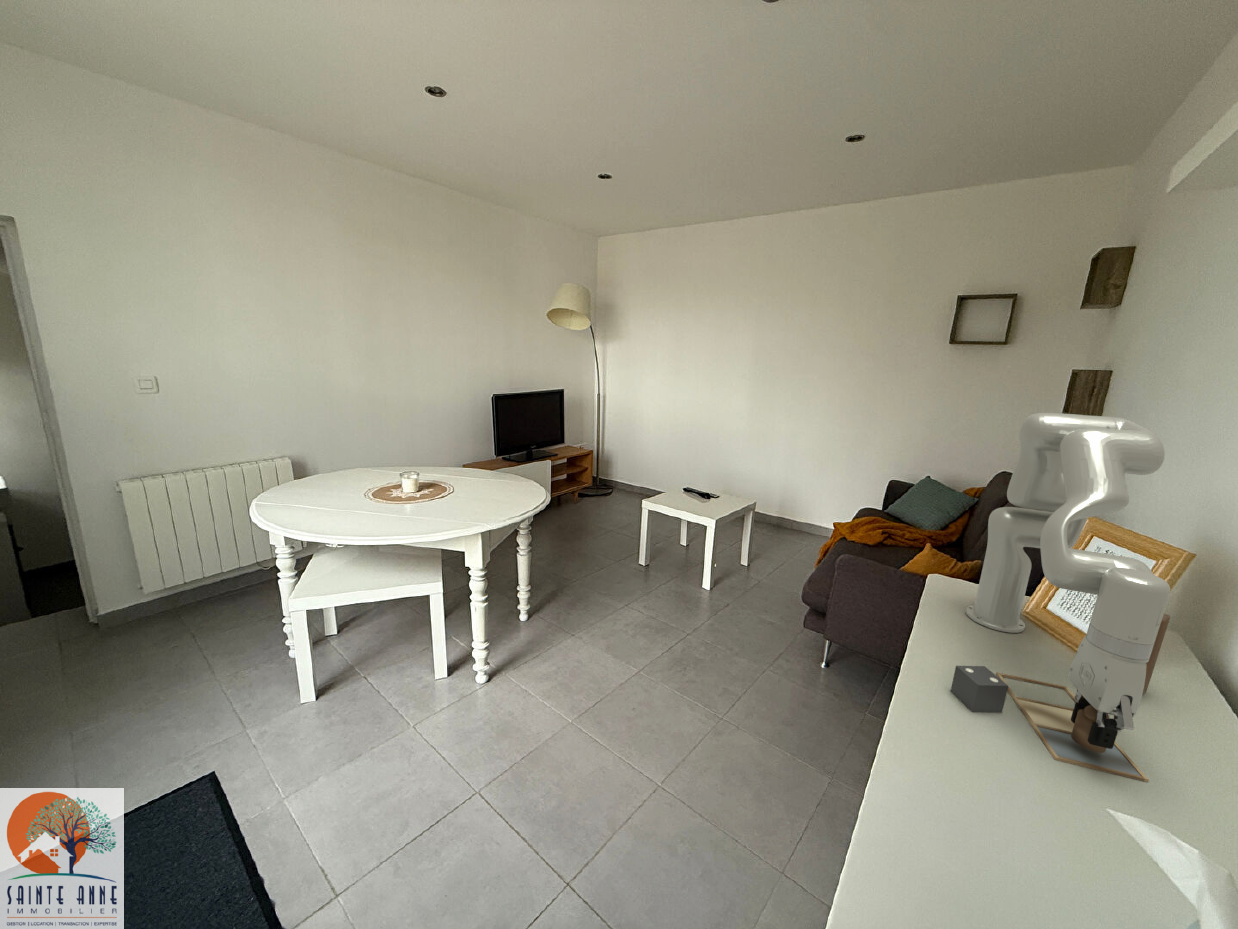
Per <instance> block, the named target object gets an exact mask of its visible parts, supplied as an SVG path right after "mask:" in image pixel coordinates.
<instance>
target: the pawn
mask: <svg viewBox="0 0 1238 929" xmlns="http://www.w3.org/2000/svg"><path fill="white" fill-rule="evenodd" d="M1097 713H1098V711H1097V710H1096V709H1095V708H1094V707H1093V706H1092V705H1089V706H1086V707H1085V708H1084V709H1080V710H1078V713H1077V717H1076V720H1075V724H1074V727H1073V730H1072V734H1071V737H1072V739H1073V740H1074V741H1075V742H1076V743H1077V744H1079V745H1080V746H1082V747H1084V748H1086V749H1088V750H1090V751H1093V752H1098V753H1103V752H1105V751H1106V748H1104V747H1100V746H1095V745H1091V744H1090V743H1089V742H1088V741H1087V740H1088V737H1089V733H1090V730H1091V726H1092V723H1093V722H1096V723H1097ZM1106 719H1110V714H1106Z"/></svg>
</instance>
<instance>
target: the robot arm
mask: <svg viewBox="0 0 1238 929" xmlns="http://www.w3.org/2000/svg"><path fill="white" fill-rule="evenodd" d="M1018 436H1019V446H1020V449H1019V454H1018V459H1017V461H1016V464H1015V467H1014V469H1013V471H1012V474H1011V477H1010V478H1011V479H1010V480H1009V483H1008V486H1007V492H1006V497H1007V501H1008V502H1009V503H1010V504H1012V505H1013V506H1003V507H997V508H995V509H994V510H992V511H991V513H990V514H989V516H988V524H987V543H986V544H987V546H986V551H985V556H984V561H983V564H982V569H981V574H980V578H979V583H978V587H977V593H976V596H975V601H974V604H972V605H971V604H970V605H968V606H967V607H966V608H965V614H966V615H967V617H968V618H970V619H971V620H972V621H973V622H976V623H977V624H980V625H981V626H984V627H986V628H989V629H992V630H995V631H999V632H1003V633H1010V634H1013V633H1014V634H1015V633H1016V634H1019V633H1022V632H1024V631H1025V629H1026V624H1025V622H1024V621H1023V620H1022V619H1021V618H1020V616H1021V611H1022V607H1023V603H1024V599H1025V595H1026V591H1027V587H1028V583H1029V580H1030V575H1031V570H1032V561H1031V558H1030V557H1029V556H1028V554H1027V553H1026V552H1025V550H1024V548H1025V547H1026V548H1035V549H1040V557H1041V559H1040V560H1041V567H1042V572H1043V574H1044V577H1045V580H1046V581H1047V582H1049V584H1051V585H1053V586H1055V587H1056V588H1058V589H1061V590H1062V589H1063V590H1068V591H1072V592H1079V593H1083V594H1091V595H1095V596H1096V595H1097V597H1096V600H1095V603H1094V607H1093V610H1092V614H1091V618H1090V622H1089V625H1088V629H1087V631H1086V632H1087V633H1086V634H1085V635H1084V637H1083V638H1082V640H1081V641H1080V643H1079V644H1078V648H1077V650H1076V652H1075V654H1074V657H1073V658H1072V659H1073V660H1072V663H1071V666H1070V669H1069V672H1068V677H1067V678H1068V680H1069V682H1070V683H1071V685H1073V687H1074V688H1075V690H1076V693H1075V694H1074V696H1075V700H1076V701H1077V702H1075V701H1074V706H1073V713H1072V716H1071V721H1072V722H1073V723H1074V724H1075V720H1076V717H1077V713H1078V710H1080V709H1084V708H1085V707H1086V706H1089V705H1092V706H1093V707H1094V708H1095V709H1096V710H1097V711H1098V713H1097V723H1096V722H1093V723H1092V726H1091V730H1090V733H1089V737H1088V740H1087V741H1088V742H1089V743H1090V744H1091V745H1095V746H1100V747H1104V748H1108V749H1112V748H1113V746H1114V743H1115V742H1116V738H1117V736H1118V732H1121V731H1122V730H1129V731H1133V730H1134V729H1135V726H1134V717H1135V716H1136V715H1137V713H1138V710H1139V707H1140V706H1141V702H1142V698H1143V695H1144V693H1143V689H1144V684H1145V677H1146V663H1147V662H1148V661H1149V658H1150V655H1151V652H1152V649H1153V646H1154V642H1155V640H1156V636H1157V633H1158V630H1159V627H1160V624H1161V621H1162V617H1163V614H1165V611H1166V609H1167V608H1166V607H1167V605H1168V601H1169V598H1170V595H1171V586H1170V585H1169V583H1168V582H1167V581H1166V580H1165V579H1164V578H1162V577H1159V576H1157V575H1156V574H1154V572H1153V571H1152V570H1151V568H1150V567H1149V566H1148V565H1147V563H1145V562H1144V561H1142V560H1140V559H1137V558H1133V557H1129V556H1123V555H1115V554H1110V553H1104V552H1103V553H1102V552H1097V551H1091V550H1090V551H1089V550H1083V549H1075V548H1073V547H1074V546H1075V545H1076V543H1077V542H1078V541H1079V540H1078V539H1079V538H1080V536H1081V534H1082V532H1083V530H1084V528H1085V525H1086V523H1087V521H1088V519H1089V518H1092V517H1093V518H1094V517H1098V516H1104V515H1109V514H1113V513H1115V512H1119V511H1121V510H1123V509H1124V508H1126V507H1127V506H1128V505H1129V502H1130V496H1129V491H1128V487H1127V480H1126V475H1125V474H1127V475H1138V476H1142V475H1143V476H1145V475H1151V474H1154V473H1155V472H1157V471H1158V470H1159V469H1160V468H1161V467H1162V465H1163V463H1164V460H1165V456H1166V454H1165V448H1164V445H1163V442H1162V440H1161V439H1160V438H1159V437H1158V436H1157V435H1156V434H1155V433H1154V432H1153V431H1151V430H1149V429H1147V428H1145V427H1143V426H1141V425H1139V424H1138V423H1136V422H1133V421H1132V420H1129V419H1126V418H1123V417H1116V416H1104V415H1103V416H1102V415H1101V416H1100V415H1086V414H1076V413H1073V414H1072V413H1059V412H1057V413H1056V412H1037V413H1032V414H1030V415H1029V416H1027V417H1026V418H1025V419H1024V420H1023V422H1021V425H1020V428H1019V435H1018ZM1014 506H1015V507H1014ZM1106 714H1108V715H1111V716H1113V718H1110V717H1109V719H1106Z"/></svg>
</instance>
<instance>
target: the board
mask: <svg viewBox="0 0 1238 929" xmlns="http://www.w3.org/2000/svg"><path fill="white" fill-rule="evenodd" d="M995 675H996V676H997V677H998V678H1000V679H1001V680H1002V681H1003V682H1004V683H1006V684H1007V685H1008V683H1007V682H1006V680H1005V679H1004V678H1007V679H1012V680H1016V681H1022V682H1027V683H1031V684H1037V685H1042V686H1045V687H1051V688H1056V689H1061V690H1064V691H1065V692H1066V693H1067V694H1068V696H1069V697H1070V698H1071V699H1072V700H1073V701H1074V703H1075V702H1077V701H1076V700H1075V694H1074V693H1073V692H1072V691H1071V690H1070V688H1069V687H1068V686H1066V685H1060V684H1056V683H1051V682H1046V681H1041V680H1037V679H1031V678H1026V677H1022V676H1017V675H1012V674H1007V673H1002V672H998V671H997V672H995ZM1007 693H1009V695H1010V696H1011V698H1012V700H1013V701H1014V702H1015V704H1016V706H1017V707H1018V708H1019V710H1020V711H1021V713H1022V714H1023V716H1024V717H1025V718H1026V720H1027V722H1028V723H1029V724H1030V726H1031V727H1032V729H1033V730H1034V731H1035V733H1036V735H1037V736H1038V737H1039V739H1040V740H1041V742H1042V743H1043V745H1044V746H1045V747H1046V749H1047V750H1048V752H1049V753H1050V755H1051V757H1052V758H1053V759H1054V760H1055V761H1059V762H1063V763H1067V764H1071V765H1076V766H1080V767H1082V768H1083V767H1084V768H1088V769H1092V770H1096V771H1100V772H1104V773H1108V774H1112V775H1116V776H1120V777H1125V778H1128V779H1133V780H1137V781H1141V782H1145V783H1149V781H1150V780H1149V778H1148V777H1147V776H1146V775H1145V774H1144V773H1143V771H1142V770H1141V769H1140V768H1139V767H1138V766H1137V765H1136V763H1134V761H1133V759H1131V758H1130V757H1129V756H1128V754H1126V752H1125V751H1124V750H1123V749H1122V747H1121V746H1120V745H1119V744H1118V743H1117V742H1116V741H1115V743H1114V746H1113V748H1112V749H1108V748H1106V751H1105V752H1103V753H1098V752H1093V751H1090V750H1088V749H1086V748H1084V747H1082V746H1080V745H1079V744H1077V743H1076V742H1075V741H1074V740H1073V739H1072V737H1071V734H1072V730H1073V727H1074V723H1073V722H1072V721H1071V716H1072V713H1073V709H1074V707H1067V706H1064V705H1063V706H1062V705H1058V704H1054V703H1050V702H1049V703H1048V702H1044V701H1041V700H1035V699H1030V698H1024V697H1021V696H1016V695H1015V694H1014V692H1013V690H1012V689H1011V687H1010V686H1009V685H1008V690H1007Z"/></svg>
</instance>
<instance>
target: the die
mask: <svg viewBox="0 0 1238 929" xmlns="http://www.w3.org/2000/svg"><path fill="white" fill-rule="evenodd" d="M1006 683H1007V682H1006ZM1006 683H1004V682H1003V681H1002V680H1001V679H1000V678H998V676H997V675H996V673H993V672H992V671H991V670H990V669H989V668H988V667H986V666H985V665H984V666H983V665H955V668H954V674H953V678H952V683H951V688H950V692H951V693H952V694H953V695H954V696H955V697H956V698H957V699H958V700H959V701H960V702H962V704H963V705H964V706H965V707H966V708H967V709H968V710H969V711H970V712H972V713H1003V711H1004V710H1003V709H1004V705H1005V703H1006V702H1005V701H1006V699H1007V693H1008V691H1007V690H1008V686H1009V684H1008V683H1007V684H1006Z"/></svg>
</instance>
